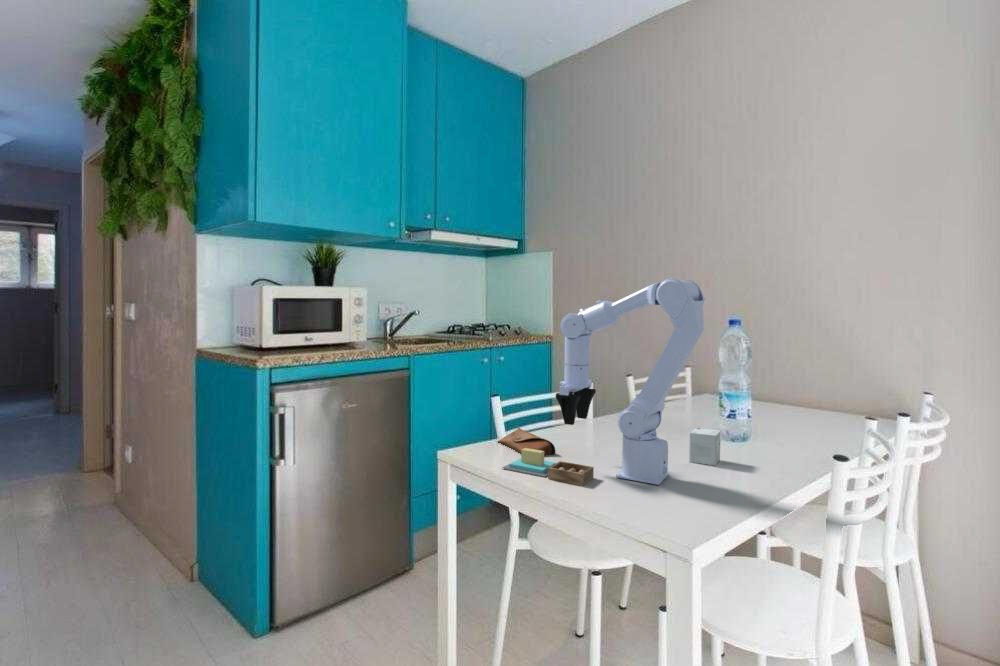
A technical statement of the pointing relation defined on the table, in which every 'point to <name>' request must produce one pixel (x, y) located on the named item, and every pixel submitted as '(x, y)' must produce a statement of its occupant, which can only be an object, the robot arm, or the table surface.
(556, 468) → the box
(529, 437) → the sunglasses case
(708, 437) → the skincare box
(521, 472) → the mat
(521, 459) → the lid
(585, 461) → the table surface
